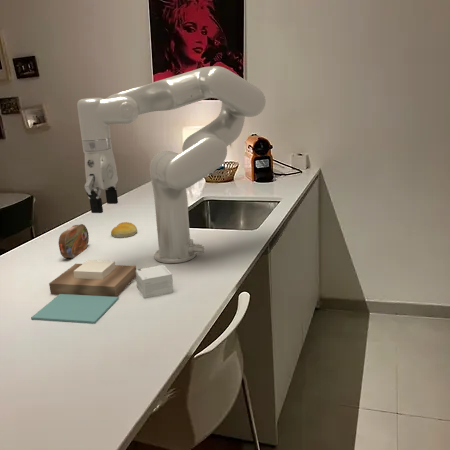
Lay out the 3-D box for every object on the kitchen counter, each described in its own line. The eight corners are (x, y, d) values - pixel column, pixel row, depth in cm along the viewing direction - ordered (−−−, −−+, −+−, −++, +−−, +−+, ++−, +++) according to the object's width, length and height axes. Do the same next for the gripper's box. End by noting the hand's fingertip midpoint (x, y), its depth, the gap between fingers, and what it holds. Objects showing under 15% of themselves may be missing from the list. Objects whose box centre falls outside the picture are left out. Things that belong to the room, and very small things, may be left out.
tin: (68, 262, 155) (64, 235, 152) (59, 261, 156) (55, 235, 153) (90, 245, 169) (87, 221, 167) (82, 245, 170) (78, 220, 167)
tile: (115, 267, 140) (114, 261, 139) (102, 279, 132) (101, 272, 132) (88, 266, 142) (87, 260, 141) (74, 278, 134) (73, 271, 134)
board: (136, 276, 141) (135, 265, 141) (115, 297, 128) (114, 286, 127) (77, 273, 145) (75, 263, 144) (50, 294, 132) (49, 283, 131)
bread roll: (108, 238, 176) (106, 227, 175) (119, 230, 184) (118, 219, 183) (130, 239, 174) (129, 228, 173) (140, 231, 182) (139, 220, 181)
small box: (174, 292, 130) (172, 273, 129) (143, 299, 127) (141, 279, 126) (165, 282, 137) (164, 264, 135) (136, 287, 134) (134, 269, 133)
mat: (118, 298, 128) (118, 296, 128) (95, 323, 116) (94, 321, 115) (60, 295, 131) (60, 293, 131) (31, 319, 119) (31, 317, 119)
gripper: (95, 150, 128) (103, 217, 133) (123, 140, 144) (130, 200, 149) (67, 151, 130) (77, 216, 135) (99, 141, 146) (106, 200, 151)
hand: (105, 207), depth 142 cm, fingers open, 9 cm apart
